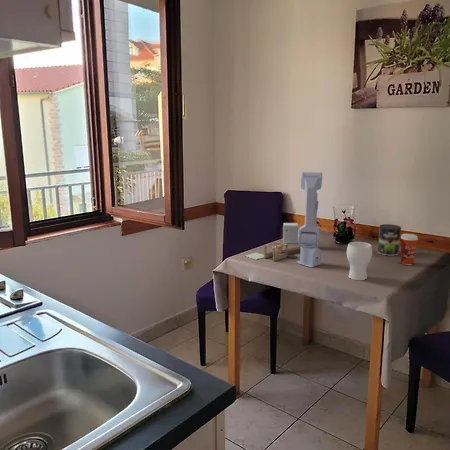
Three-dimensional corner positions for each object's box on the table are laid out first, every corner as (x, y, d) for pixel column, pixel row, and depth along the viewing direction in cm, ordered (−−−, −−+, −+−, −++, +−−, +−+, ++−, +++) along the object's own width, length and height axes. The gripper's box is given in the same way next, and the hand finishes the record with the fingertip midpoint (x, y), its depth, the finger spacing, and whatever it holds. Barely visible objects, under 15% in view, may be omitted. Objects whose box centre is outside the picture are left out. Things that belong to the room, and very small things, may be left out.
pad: (267, 256, 229) (267, 256, 229) (255, 260, 224) (255, 259, 224) (255, 253, 235) (255, 252, 235) (244, 256, 230) (244, 255, 230)
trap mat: (298, 257, 228) (298, 256, 228) (293, 258, 226) (293, 258, 226) (292, 255, 231) (292, 254, 231) (287, 257, 229) (287, 256, 229)
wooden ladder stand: (287, 257, 229) (287, 244, 227) (273, 261, 222) (273, 248, 221) (277, 254, 233) (278, 241, 232) (264, 258, 227) (264, 245, 225)
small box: (297, 241, 257) (297, 222, 255) (297, 243, 252) (298, 225, 250) (282, 240, 258) (283, 222, 256) (283, 243, 253) (283, 225, 250)
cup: (365, 273, 205) (367, 241, 202) (373, 281, 195) (376, 248, 191) (342, 273, 205) (344, 241, 201) (349, 282, 195) (351, 248, 191)
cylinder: (283, 257, 228) (283, 245, 227) (278, 258, 226) (278, 247, 224) (277, 255, 231) (277, 244, 230) (272, 257, 229) (272, 245, 227)
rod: (308, 251, 240) (308, 246, 239) (281, 256, 231) (281, 252, 230) (304, 249, 242) (305, 245, 241) (278, 255, 233) (278, 251, 232)
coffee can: (399, 256, 229) (402, 229, 225) (378, 255, 231) (380, 228, 228) (397, 250, 238) (399, 224, 235) (376, 249, 241) (378, 223, 238)
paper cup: (405, 267, 213) (407, 238, 210) (394, 262, 221) (397, 234, 217) (419, 265, 215) (422, 236, 212) (408, 260, 223) (411, 232, 219)
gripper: (313, 218, 249) (312, 241, 252) (296, 222, 240) (295, 246, 243) (324, 220, 244) (322, 244, 247) (306, 224, 234) (305, 249, 238)
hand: (309, 245), depth 245 cm, fingers closed
